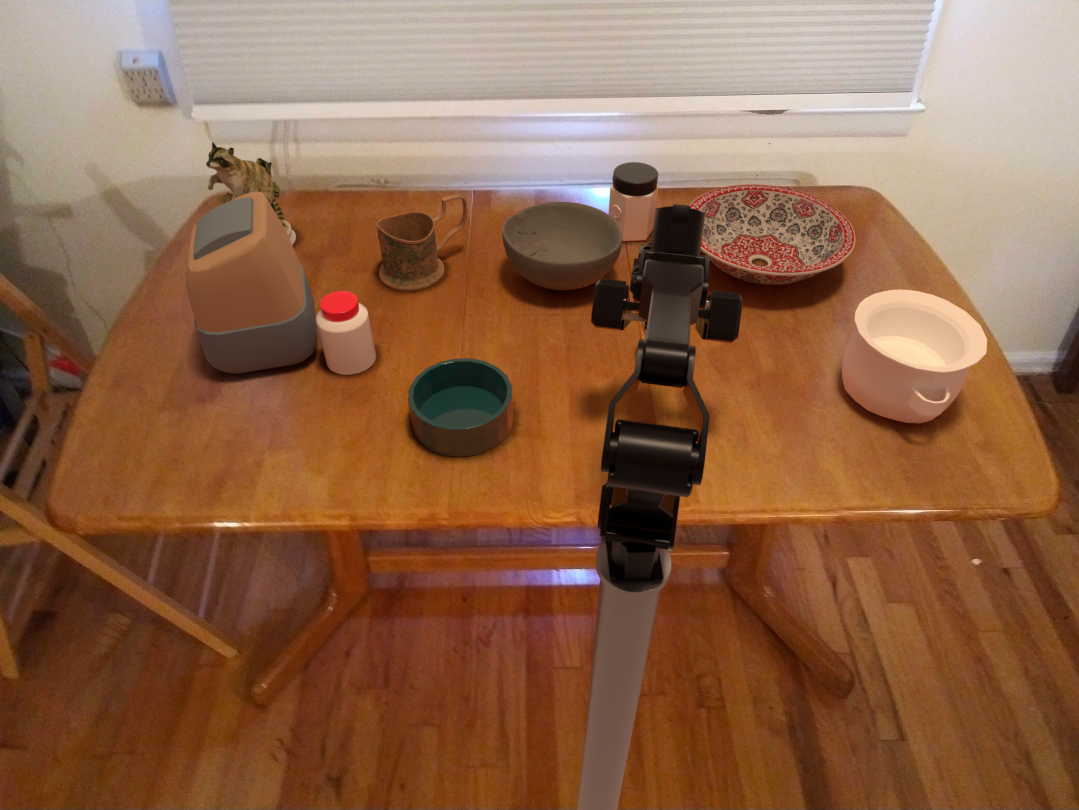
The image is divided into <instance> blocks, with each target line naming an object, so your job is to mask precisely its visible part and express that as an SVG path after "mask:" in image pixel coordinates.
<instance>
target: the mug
mask: <svg viewBox="0 0 1079 810" xmlns="http://www.w3.org/2000/svg"><path fill="white" fill-rule="evenodd" d="M440 200H441V201H440V202H441V208H440V211H439V213H438V214H437V215H436V216H435V217H432V216H431V215H430V214H427V213H425V212H422V211H408V212H404V213H403V212H402V213H399V214H395V215H390V216H386V217H383V218H380V219H379V220H377V222H376V223H375V225H376V230H377V239H378V242H379V249H380V256H381V261H382V264H381V265H380V266H379V269H378V276H379V279H380V281H381V282H382V284H383V285H385V286H386V287H388V288H389V289H393V290H396V291H402V292H415V291H420V290H421V291H422V290H425V289H428V288H430V287H432V286H434V285H436V284H437V283H438V282H440V281H441V279H443V277H444V275H445V265H444V262H443V260H441V259H440V258H439V257H438V252H439V251H441V250H442V249H443V248H444V247H445V246H446V244H447V243H448V242H449V240H450V239H451V238H452V237H453V236H455V234H457V233H458V232H459V231H461V230H462V229H463V227H464V226H465V224H466V223H467V219H468V213H469V212H468V202H467V200H466V199H465V197H463V196H462V195H460V194H451V195H447V196H444V197H442V198H441V199H440ZM454 200H461V202H462V215H461V220H460V221H459V223H458V224H457V225H456V226H455V227H454V228H452V229H451V230H450V231H448V232H447V233H446V235H445V236H444V237H443V238H442V240H441V241H440V242H439V243H438V244H437V238H436V237H437V236H436V229H435V226H436V225H435V223H437V222H440V221H441V220H442V219H443V217H444V216H445V215H446V209H447V202H451V201H454Z"/></svg>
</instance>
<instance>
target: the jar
mask: <svg viewBox="0 0 1079 810" xmlns="http://www.w3.org/2000/svg"><path fill="white" fill-rule="evenodd" d="M612 173H613V174H612V179H611V180H612V185H611V186H610V188H609V199H608V201H609V202H608V213H607V214H608V215H609V216H611V217H612V218H613V219H614V220H615V221H616V222H617V224H618V225H619V227H620V229H621V232H622V242H638V241H640V242H641V241H647V239H648V238H649V236H650V235H651V233H653V225H654V217H655V210H656V208H657V203H658V196H659V187H660V186H659V184H658V183H659V182H658V181H659V171H658V170H657V168H655V167H654V166H653V165H651V164H647V163H646V162H645V163H644V162H638V161H630V162H624V163H620V164H619V165H617V166H616V167H615V168H614V169H613V172H612Z"/></svg>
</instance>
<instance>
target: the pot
mask: <svg viewBox="0 0 1079 810" xmlns="http://www.w3.org/2000/svg"><path fill="white" fill-rule="evenodd" d="M853 316H854V318H853V319H854V320H853V324H854V326H855V329H854V330H853V333H852V335H851V337H850V338H849V341H848V343H847V345H846V346H845V348H844V352H843V355H842V358H841V377H842V378H841V379H842V382H843V387H844V390H845V391H846V393H847V394H848V395H849V396H850V397H851V398H852V399H853V400H854V402H856V403H857V404H858V405H860V406H861V407H862V408H863V409H864V410H867V411H868V412H871V413H872V414H875V415H877V416H879V417H883V418H887V419H890V420H893V421H897V422H901V423H906V424H923V423H927V422H930V421H933V420H934V419H935V418H937V417H938V416H940V415H942V413H943V412H945V411H946V410H947V409H948V408H949V407H950V406H951V404H952V403H953V402H954V401H955V400H956V399H957V397H958V396H959V394H960V393H961V391H962V389H963V387H964V385H965V382H966V380H967V378H968V375H969V372H970V369H971V367H973V366H976V365H978V363H980V362H981V360H982V359H983V358H984V357H985V356H986V355H987V351H988V349H987V348H988V338H987V336H986V334H985V332H984V330H983V328H982V325H981V324H980V323H979V322H978V321H976V319H974V318H973V317H972V316H971V315H970V314H969V313H968V312H967V311H966V310H964V309H962V308H961V307H959V306H957V305H956V304H954V303H953V302H950V301H949V300H947V299H945V298H942V297H940V296H937V295H934V294H931V293H927V292H923V291H918V290H911V289H889V290H884V291H879V292H875V293H873V294H870V295H869V296H866V297H865V298H864V299H863V300H861V301H860V302H859V304H858V305H857V308H856V310H855V312H854V315H853Z"/></svg>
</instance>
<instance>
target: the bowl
mask: <svg viewBox="0 0 1079 810" xmlns="http://www.w3.org/2000/svg"><path fill="white" fill-rule="evenodd" d="M608 214H609V213H606V212H605V211H603V210H601V209H600V208H596V207H594V206H591V205H589V204H583V203H579V202H572V201H571V202H570V201H550V202H549V201H548V202H544V203H539V204H535V205H531V206H528V207H526V208H525V207H524V208H523V209H521V210H519V211H517V212H516V213H514V214H513V215H512V214H511V216H509V217H508V218H506V219H505V220H504V221H503V223H502V226H501V237H502V243H503V246H504V247H503V248H504V251H505V254H506V256H507V259H508V261H509V262H510V264H511V266H512V267H513V268H514V270H515V271H516V272H517V273H518V274H519V275H521V277H523V278H524V279H525V280H527V281H528V282H530V283H532V284H534V285H536V286H538V287H541V288H544V289H547V290H548V289H549V290H552V291H553V290H554V291H571V290H578V289H583V288H586V287H589V286H591V285H594V284H596V282H597V281H599V280H600V279H603V278H604V277H605V276H606V275H607V274H608V273H609V272H610V271H611V269H613V268H614V265H616V263H617V261H618V259H619V257H620V254H621V251H622V248H623V247H622V246H623V241H622V232H621V229H620V227H619V225H618V224H617V222H616V221H615V220H614V219H613V218H612V217H611V216H609V215H608Z"/></svg>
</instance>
